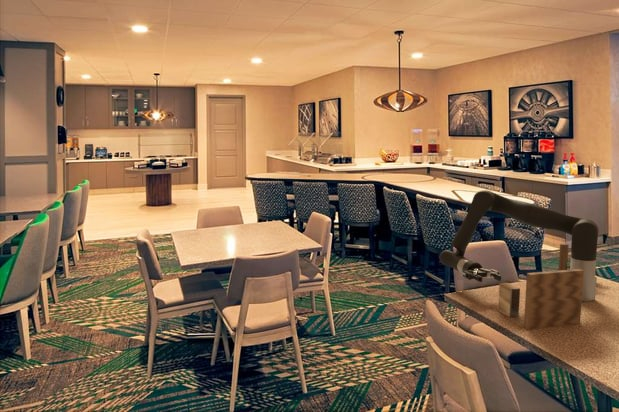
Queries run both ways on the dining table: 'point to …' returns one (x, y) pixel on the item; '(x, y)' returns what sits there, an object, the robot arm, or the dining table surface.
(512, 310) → the rail end
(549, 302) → the zigzag wooden panel
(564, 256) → the wooden block
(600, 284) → the dining table surface
